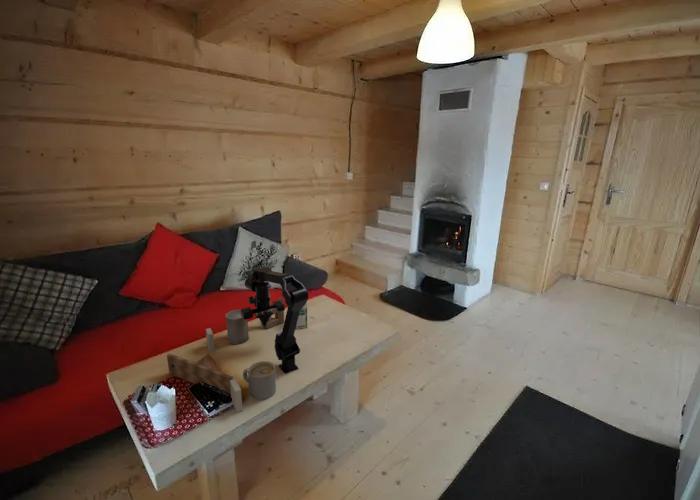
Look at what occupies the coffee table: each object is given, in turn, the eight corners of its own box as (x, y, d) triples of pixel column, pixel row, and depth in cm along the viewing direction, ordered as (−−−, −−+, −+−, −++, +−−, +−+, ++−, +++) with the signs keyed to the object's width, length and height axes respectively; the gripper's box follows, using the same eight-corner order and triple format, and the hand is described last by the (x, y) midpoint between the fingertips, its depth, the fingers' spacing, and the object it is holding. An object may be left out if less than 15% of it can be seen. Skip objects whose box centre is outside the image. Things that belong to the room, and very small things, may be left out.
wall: (242, 410, 123) (240, 388, 121) (236, 413, 122) (235, 390, 120) (211, 345, 162) (210, 327, 160) (207, 346, 161) (205, 328, 159)
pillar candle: (247, 332, 174) (245, 305, 170) (249, 342, 165) (247, 314, 161) (227, 336, 171) (224, 308, 166) (228, 346, 162) (225, 317, 158)
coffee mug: (281, 388, 135) (280, 366, 132) (262, 403, 127) (261, 380, 124) (257, 376, 142) (256, 355, 139) (237, 389, 134) (236, 367, 131)
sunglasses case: (189, 365, 147) (196, 351, 147) (205, 367, 152) (212, 353, 152) (202, 388, 134) (210, 372, 134) (219, 390, 138) (226, 374, 139)
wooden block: (284, 322, 185) (283, 291, 180) (266, 329, 178) (265, 297, 172) (280, 320, 187) (279, 289, 182) (263, 327, 180) (261, 295, 175)
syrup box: (296, 329, 179) (296, 303, 175) (295, 323, 184) (294, 298, 180) (307, 328, 180) (307, 302, 176) (305, 322, 186) (305, 297, 182)
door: (232, 396, 130) (231, 376, 127) (228, 399, 128) (227, 379, 125) (171, 371, 142) (169, 353, 140) (167, 374, 140) (164, 356, 138)
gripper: (275, 284, 164) (276, 314, 168) (235, 292, 154) (238, 324, 158) (285, 293, 155) (285, 324, 159) (243, 302, 145) (245, 335, 149)
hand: (263, 326), depth 157 cm, fingers closed
